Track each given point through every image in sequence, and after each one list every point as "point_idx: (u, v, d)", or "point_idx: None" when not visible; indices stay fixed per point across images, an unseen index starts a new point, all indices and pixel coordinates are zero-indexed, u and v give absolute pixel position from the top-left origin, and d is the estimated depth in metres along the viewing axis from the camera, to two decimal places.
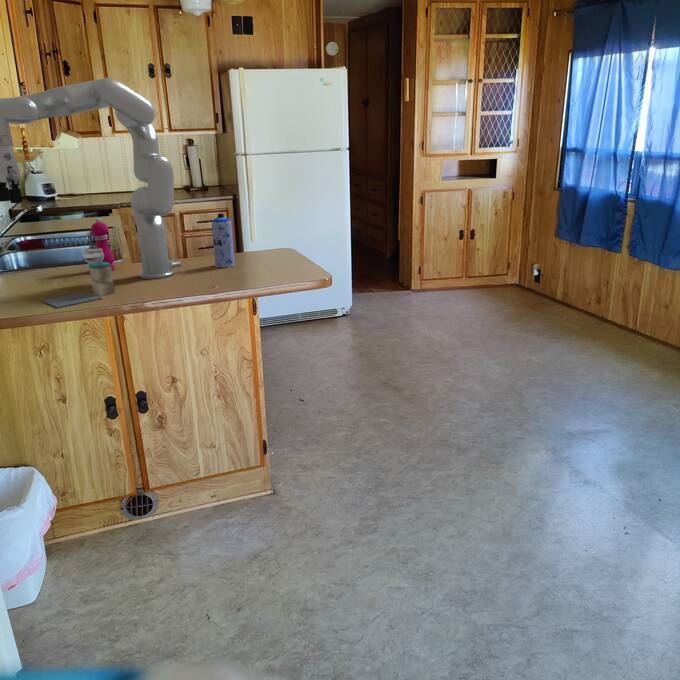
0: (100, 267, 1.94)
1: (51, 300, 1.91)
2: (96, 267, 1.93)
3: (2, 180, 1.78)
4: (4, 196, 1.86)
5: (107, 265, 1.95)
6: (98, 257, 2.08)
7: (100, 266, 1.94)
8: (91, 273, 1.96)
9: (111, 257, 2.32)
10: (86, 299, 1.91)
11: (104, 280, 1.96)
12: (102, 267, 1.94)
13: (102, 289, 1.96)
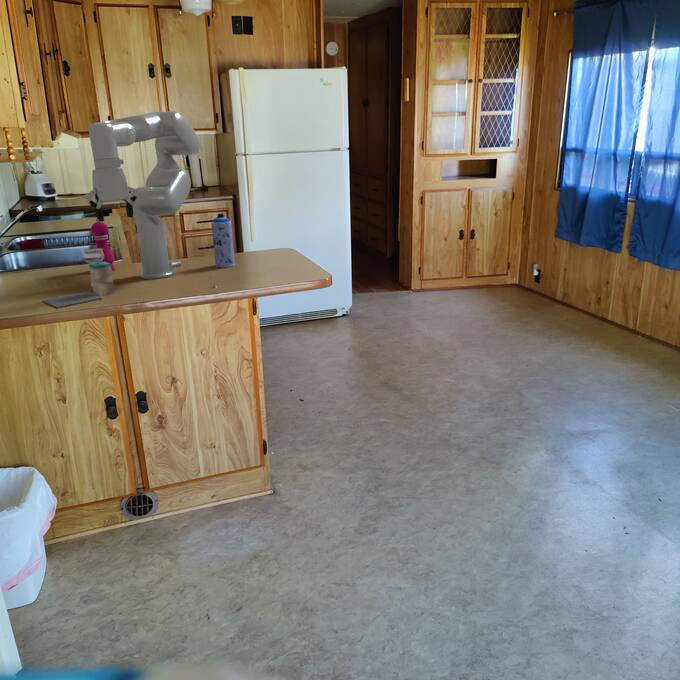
0: (100, 267, 1.94)
1: (51, 300, 1.91)
2: (96, 267, 1.93)
3: (124, 198, 1.95)
4: None
5: (107, 265, 1.95)
6: (98, 257, 2.08)
7: (100, 266, 1.94)
8: (91, 273, 1.96)
9: (111, 257, 2.32)
10: (86, 299, 1.91)
11: (104, 280, 1.96)
12: (102, 267, 1.94)
13: (102, 289, 1.96)
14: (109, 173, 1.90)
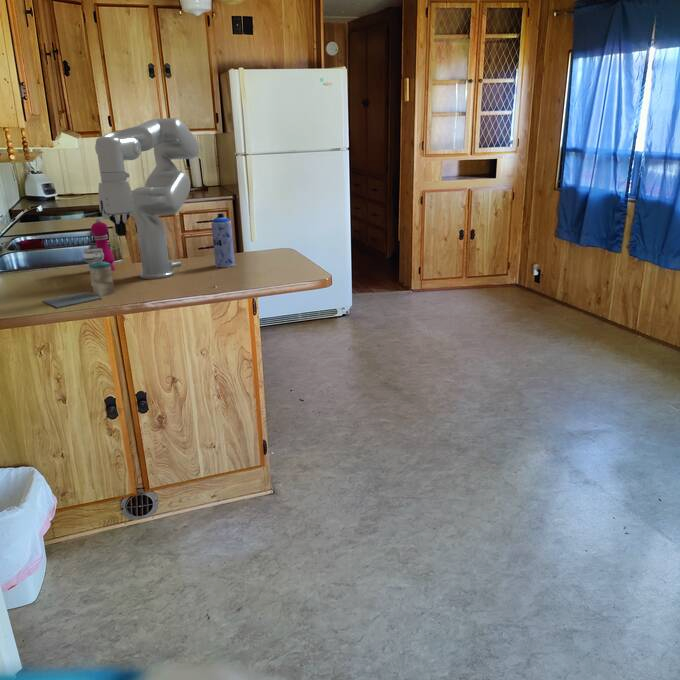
0: (100, 267, 1.94)
1: (51, 300, 1.91)
2: (96, 267, 1.93)
3: (129, 210, 1.97)
4: None
5: (107, 265, 1.95)
6: (98, 257, 2.08)
7: (100, 266, 1.94)
8: (91, 273, 1.96)
9: (111, 257, 2.32)
10: (86, 299, 1.91)
11: (104, 280, 1.96)
12: (102, 267, 1.94)
13: (102, 289, 1.96)
14: (115, 186, 1.92)
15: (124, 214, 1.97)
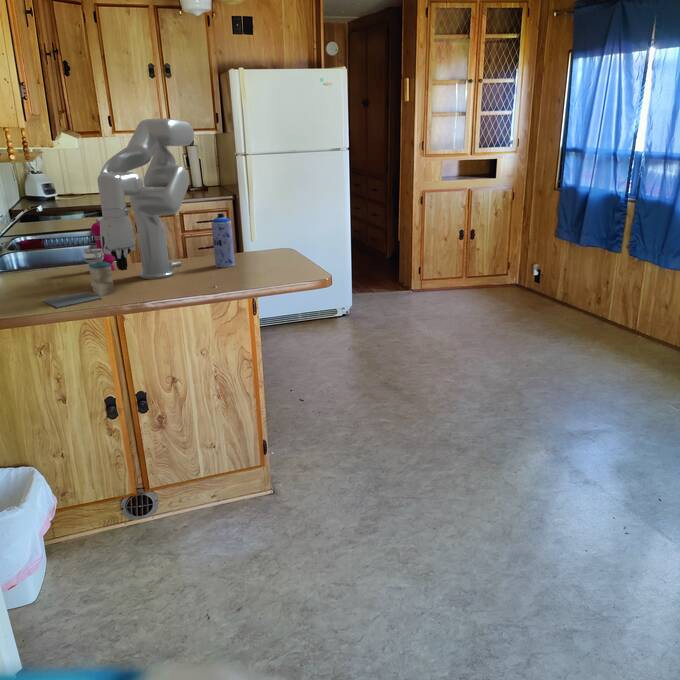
0: (100, 267, 1.94)
1: (51, 300, 1.91)
2: (96, 267, 1.93)
3: (130, 245, 2.00)
4: None
5: (107, 265, 1.95)
6: (98, 257, 2.08)
7: (100, 266, 1.94)
8: (91, 273, 1.96)
9: (111, 257, 2.32)
10: (86, 299, 1.91)
11: (104, 280, 1.96)
12: (102, 267, 1.94)
13: (102, 289, 1.96)
14: (117, 222, 1.95)
15: (125, 249, 2.00)
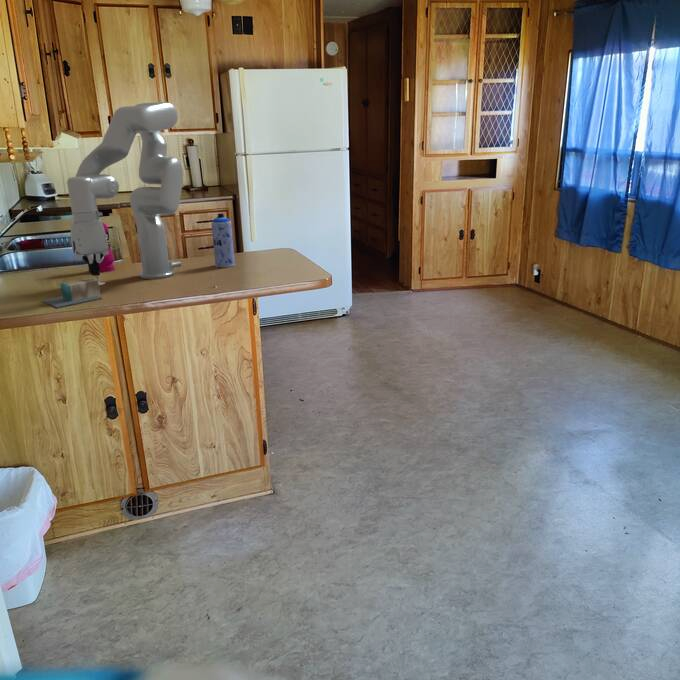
0: (70, 296, 1.89)
1: (51, 300, 1.91)
2: (70, 300, 1.89)
3: (103, 250, 1.94)
4: None
5: (68, 289, 1.88)
6: None
7: (69, 296, 1.89)
8: None
9: (111, 257, 2.32)
10: (86, 299, 1.91)
11: (84, 291, 1.92)
12: (70, 294, 1.89)
13: (93, 292, 1.94)
14: (88, 226, 1.88)
15: (97, 254, 1.93)
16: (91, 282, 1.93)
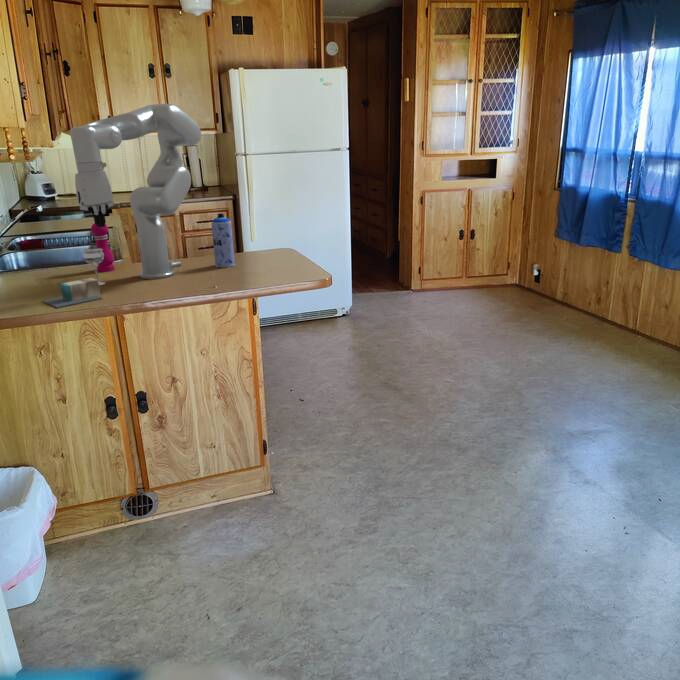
0: (70, 296, 1.89)
1: (51, 300, 1.91)
2: (70, 300, 1.89)
3: (108, 201, 1.94)
4: None
5: (68, 289, 1.88)
6: (98, 257, 2.08)
7: (69, 296, 1.89)
8: None
9: (111, 257, 2.32)
10: (86, 299, 1.91)
11: (84, 291, 1.92)
12: (70, 294, 1.89)
13: (93, 292, 1.94)
14: (92, 176, 1.89)
15: (102, 205, 1.94)
16: (91, 282, 1.93)
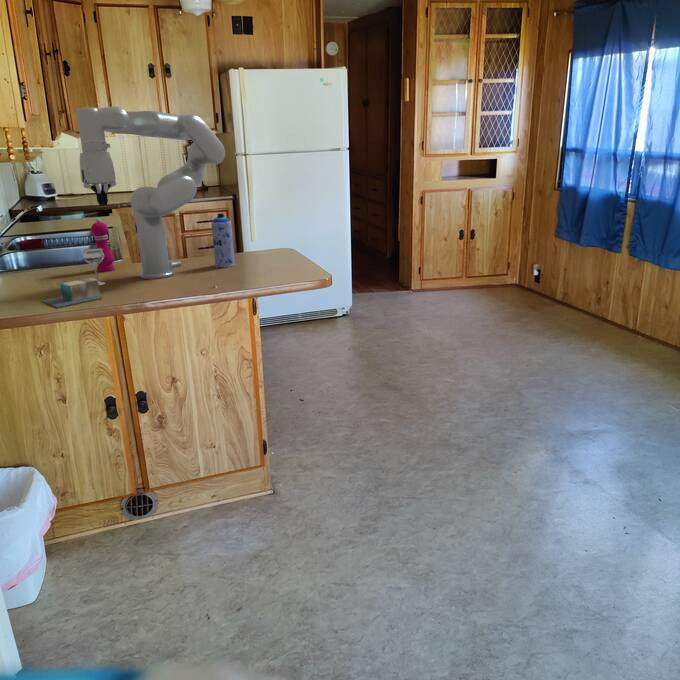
0: (70, 296, 1.89)
1: (51, 300, 1.91)
2: (70, 300, 1.89)
3: (110, 180, 2.02)
4: None
5: (68, 289, 1.88)
6: (98, 257, 2.08)
7: (69, 296, 1.89)
8: None
9: (111, 257, 2.32)
10: (86, 299, 1.91)
11: (84, 291, 1.92)
12: (70, 294, 1.89)
13: (93, 292, 1.94)
14: (96, 156, 1.96)
15: (105, 184, 2.02)
16: (91, 282, 1.93)
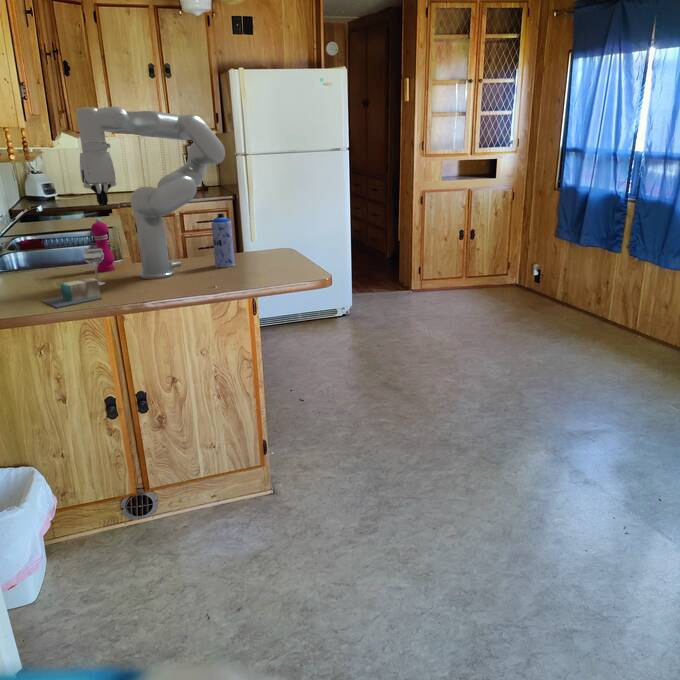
0: (70, 296, 1.89)
1: (51, 300, 1.91)
2: (70, 300, 1.89)
3: (110, 180, 2.02)
4: None
5: (68, 289, 1.88)
6: (98, 257, 2.08)
7: (69, 296, 1.89)
8: None
9: (111, 257, 2.32)
10: (86, 299, 1.91)
11: (84, 291, 1.92)
12: (70, 294, 1.89)
13: (93, 292, 1.94)
14: (96, 156, 1.96)
15: (105, 184, 2.02)
16: (91, 282, 1.93)
